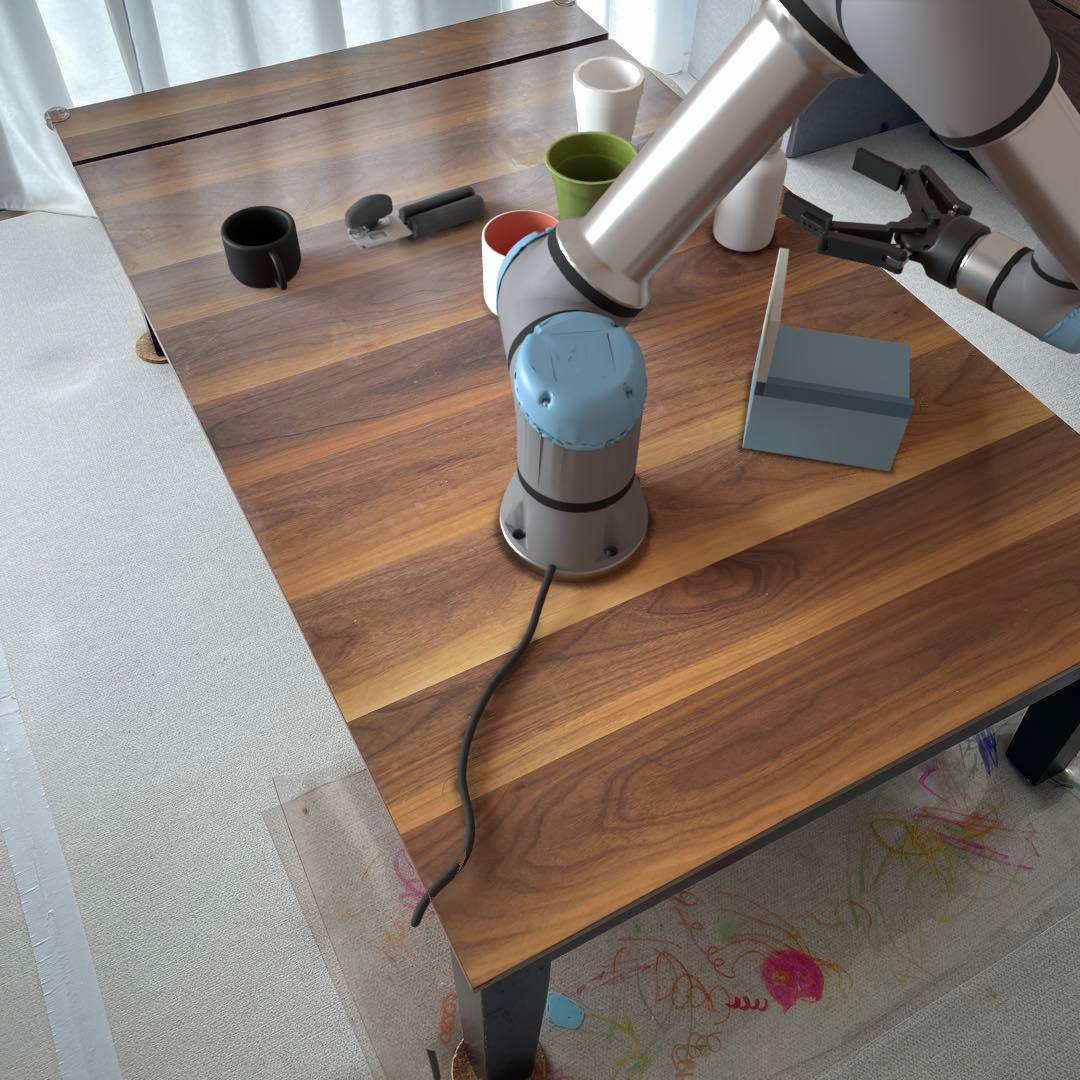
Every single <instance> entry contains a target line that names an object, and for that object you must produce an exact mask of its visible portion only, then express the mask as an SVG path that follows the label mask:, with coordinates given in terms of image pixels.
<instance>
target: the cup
mask: <svg viewBox="0 0 1080 1080" xmlns="http://www.w3.org/2000/svg"><path fill="white" fill-rule="evenodd" d="M559 221H560V220H558V219H557V218H556V217H554V216H552V215H550V214H547V213H545V212H542V211H538V210H531V209H521V210H520V209H517V210H511V211H507V212H503V213H500V214H498V215H496V216H495V217H493V218H492V219H490V220H489V221H488V222H487V223H486V224H485V226H484V227H483V228H482V232H481V245H482V246H481V250H482V252H481V253H482V279H483V298H484V301H485V304H486V306H487V307H488V309H489V310H490V311H491V312H492V313H493V314H494V315H495V316H497V317H498V314H497V311H496V294H497V292H496V283H497V277H498V272H499V269H500V266H501V264H502V262H503V260H504V258H505V257H506V255H507V254H508V252H509V251H510V250H511V249H512V247H513V246H514V245H515V244H516V243H518V242H519V241H520V240H521V239H523V238H524V237H525V236H527V235H529V234H531V233H533V232H535V231H537V232H538V233H541V232H544V231H546V228H549V227H555V226H556V225H557V224H558V222H559Z"/></svg>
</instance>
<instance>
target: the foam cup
mask: <svg viewBox="0 0 1080 1080" xmlns="http://www.w3.org/2000/svg"><path fill="white" fill-rule="evenodd" d="M645 77H646V76H645V73H644V69H643V68H642V67H641V66H640V65H638V64H637V63H635V62H634V61H632V60H630V59H626V58H623V57H619V56H606V55H604V56H603V55H602V56H597V57H591V58H587V59H586V60H584V61H582V62H580V63H578V64H577V65H576V67H575V69H574V70H573V77H572V79H573V80H572V91H573V95H574V97H575V98H574V99H575V107H576V118H577V128H578V132H588V131H597V132H605V133H610V134H614V135H617V136H620V137H622V138H624V139H626V140H627V141H629V142H630V143H631V144H632V139H633V134H634V130H635V126H636V121H637V117H638V111H639V107H640V103H641V99H642V96H643V94H644V90H645V79H646V78H645Z"/></svg>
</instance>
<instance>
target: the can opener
mask: <svg viewBox="0 0 1080 1080" xmlns="http://www.w3.org/2000/svg"><path fill="white" fill-rule="evenodd" d="M393 207H394V205H393V199H392V198H391V197H390V195H388V194H385V193H373V194H369V195H365V196H363V197H362V198H360V199H357V201H355V202H353V203H352V204H351V205H350V206H349V207H348V208H347V210H346V211H345V213H344V224H345V227H346V228H347V229H348V230H347V233H348V237H349V239H350V240H351V243H352V244H354V245H355V246H356V247H358V248H360V249H362V250H369V249H373V248H375V247H379V246H382V245H385V244H388V243H391V242H393V241H396V240H400V239H403V238H406V237H411V239H412V240H418V239H421V238H423V237H427V236H430V235H432V234H436V233H438V232H442V231H444V230H447V229H450V228H452V227H455V226H458V225H461V224H464V223H467V222H470V221H473V220H476V219H477V218H481V217H483V215H485V210H486V204H485V200H484V198H483V197H482V196H481V195H478V194H476V192H475V189H474V187H472V186H470V185H465V186H462V187H457V188H455V189H453V190H450V191H447V192H444V193H440V194H437V195H435V196H432V197H428V198H425V199H422V200H419V201H416V202H414V203H411V204H408V205H404V206H401V207H400V208H399V209H398V214H393V215H391V213H392V212H393V210H394V208H393ZM381 219H386V220H381Z"/></svg>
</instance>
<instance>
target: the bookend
mask: <svg viewBox="0 0 1080 1080" xmlns="http://www.w3.org/2000/svg"><path fill="white" fill-rule="evenodd" d="M789 255H790V248H786V247H785V248H784V247H779V249H778V254H777V259H776V264H775V269H774V274H773V278H772V282H771V289H770V292H769V297H768V302H767V306H766V311H765V315H764V320H763V325H762V330H761V334H760V340H759V344H758V348H757V349H758V350H757V353H756V354H757V355H756V358H755V363H754V364H755V365H754V368H753V373H752V379H751V384H750V385H751V386H750V391H749V392H750V393H749V399H748V405H747V411H746V418H745V419H746V420H745V427H744V432H743V440H742V446H741V447H742V449H747V450H753V451H760V452H766V453H772V454H777V455H785V456H790V457H791V456H792V457H797V458H803V459H808V460H815V461H821V462H828V463H833V464H839V465H847V466H851V467H857V468H864V469H870V470H876V471H883V472H891V469H892V467H893V463H894V461H895V459H896V455H897V453H898V451H899V447H900V445H901V442H902V439H903V436H904V434H905V431H906V428H907V426H908V423H909V420H910V418H911V416H912V412H913V410H914V407H915V398H914V397H913V398H912V397H910V385H911V384H910V383H911V382H910V380H911V379H910V378H911V377H910V372H911V371H910V370H911V344H910V343H905V342H897V341H892V340H884V339H878V338H870V337H864V336H857V335H850V334H844V333H837V332H830V331H823V330H817V329H811V328H810V329H809V328H803V327H796V326H790V325H782V324H781V318H782V309H783V301H784V293H785V285H786V279H787V271H788V264H789Z"/></svg>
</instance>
